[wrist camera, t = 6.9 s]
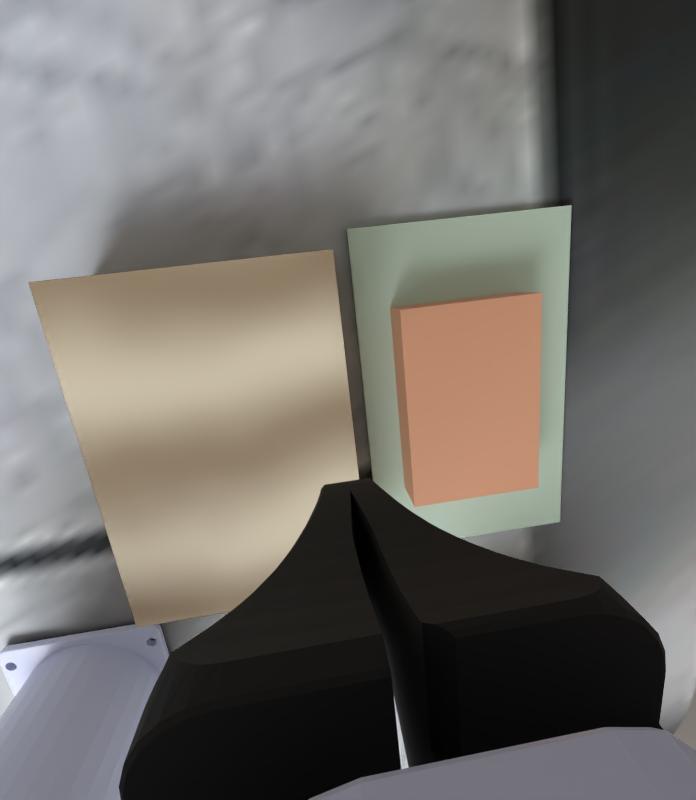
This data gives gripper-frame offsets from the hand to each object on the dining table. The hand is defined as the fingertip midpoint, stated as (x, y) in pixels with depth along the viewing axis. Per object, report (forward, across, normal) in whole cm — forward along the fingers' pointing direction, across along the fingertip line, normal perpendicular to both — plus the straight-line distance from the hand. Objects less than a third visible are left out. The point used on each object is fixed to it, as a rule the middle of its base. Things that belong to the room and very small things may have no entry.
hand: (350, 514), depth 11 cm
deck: (+9, +4, 0) cm, 10 cm away
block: (+7, -6, 0) cm, 9 cm away
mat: (+9, -7, 0) cm, 11 cm away
